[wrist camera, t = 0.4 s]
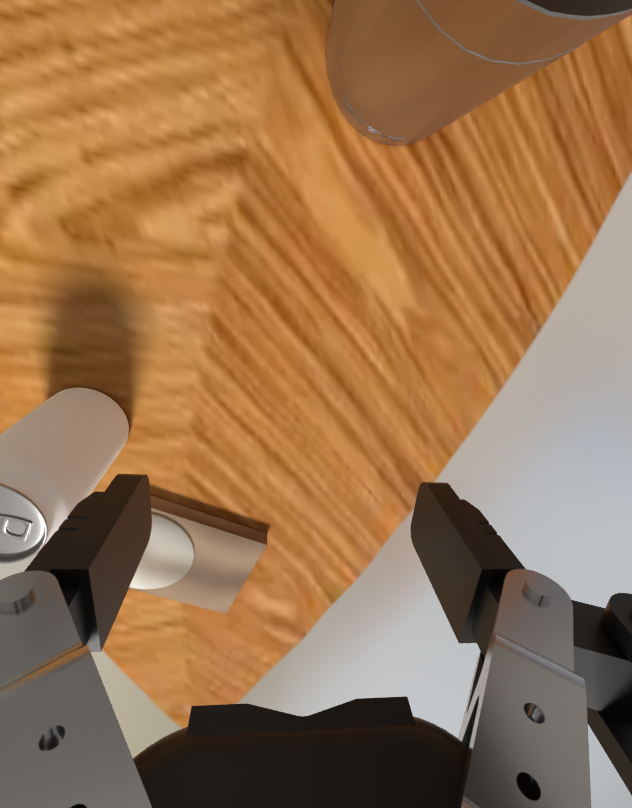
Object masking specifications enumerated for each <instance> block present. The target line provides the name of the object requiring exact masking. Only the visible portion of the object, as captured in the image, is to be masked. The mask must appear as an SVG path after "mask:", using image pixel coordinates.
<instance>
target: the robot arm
mask: <svg viewBox="0 0 632 808" xmlns="http://www.w3.org/2000/svg"><path fill="white" fill-rule="evenodd" d="M630 15H632V0H335V2H334V6H333V11H332V15H331V19H330V24H329V28H328V33H327V43H326V63H327V73H328V79H329V82H330V86H331V89H332V93H333V96H334V98H335V100H336V102H337V104H338V106H339V108H340V110H341V112H342V113H343V115H344V116H345V117H346V119H347V120H348V121H349V123H350V124H351V125H352V126H353V127H354V128H355V129H357V130H358V131H359V132H360V133H361V134H363V135H364V136H366V137H368V138H370V139H372V140H374V141H376V142H378V143H383V144H387V145H407V144H411V143H414V142H417V141H421V140H423V139H424V138H426V137H428V136H430V135H431V134H433V133H435V132H436V131H438V130H440V129H442V128H443V127H445V126H447V125H449V124H451V123H453V122H454V121H456V120H458V119H459V118H461V117H463V116H464V115H466V114H468V113H469V112H471V111H473V110H474V109H476V108H478V107H479V106H481V105H483V104H484V103H486V102H488V101H489V100H491V99H493V98H494V97H496V96H498V95H499V94H501V93H503V92H504V91H506V90H508V89H509V88H511V87H513V86H514V85H516V84H518V83H519V82H521V81H523V80H524V79H526V78H528V77H529V76H531V75H533V74H534V73H536V72H538V71H539V70H541V69H543V68H544V67H546V66H548V65H549V64H551V63H553V62H554V61H556V60H558V59H559V58H561V57H563V56H564V55H566V54H568V53H569V52H571V51H573V50H574V49H576V48H578V47H579V46H580V45H582V44H583V43H585V42H587V41H588V40H590V39H592V38H593V37H595V36H597V35H598V34H600V33H602V32H603V31H605V30H607V29H608V28H610V27H612V26H613V25H615V24H617V23H618V22H620V21H622V20H623V19H625V18H627V17H628V16H630ZM151 529H152V514H151V501H150V487H149V479H148V476H147V475H135V474H118V475H116V477H115V478H114V479H113V481H112V482H111V484H110V485H109V486H108V488H107V489H106V491H105V492H94V493H92V494H91V495H89V496H88V497H86V498H85V499H83V500H82V501H80V502H79V503H78V504H77V505H76V506H75V507H74V509H73V510H72V511H71V513H70V514H69V515H68V516H67V519H65V520H64V521H63V523H62V524H61V525H60V527H59V529H58V531H56V532H55V533H54V534H53V535H52V537H51V538H50V539H49V541H48V542H47V543H46V544H45V546H44V547H43V548H42V549H41V551H40V552H39V553H38V555H37V556H36V557H35V558H34V560H33V561H32V562H31V564H30V565H29V566H28V568H27V569H26V570H25V571H24V572H21V573H17V574H14V575H11V576H9V577H6V578H4V579H2V580H0V808H591V791H590V769H589V746H588V745H589V744H588V724H589V726H590V728H591V729H592V731H593V732H594V734H595V736H596V737H597V739H598V741H599V742H600V744H601V745H602V747H603V749H604V750H605V752H606V754H607V755H608V757H609V759H610V760H611V762H612V764H613V765H614V767H615V768H616V770H617V772H618V773H619V775H620V777H621V778H622V780H623V781H624V783H625V785H626V787H627V788H628V790H629V791H630V793H631V795H632V594H627V593H618V594H615V595H613V596H612V597H611V598H610V600H609V602H608V604H607V606H606V608H601V607H597V606H593V605H589V604H585V603H581V602H577V601H573V600H571V599H570V597H569V595H568V594H567V593H566V591H565V590H564V589H563V588H562V587H561V586H560V585H558V584H557V583H556V582H554V581H553V580H551V579H550V578H548V577H546V576H544V575H542V574H540V573H537V572H535V571H531V570H527V569H525V568H524V566H523V565H522V564H521V563H520V561H519V560H518V559H517V558H516V556H515V555H514V554H513V552H512V551H511V550H510V549H509V548H508V546H507V545H506V544H505V542H504V541H503V540H502V539H501V537H500V536H499V535H497V532H496V531H495V530H494V528H493V527H492V526H491V525H489V522H488V521H487V519H486V518H485V517H484V516H483V514H482V513H481V512H480V511H479V510H478V509H477V508H476V507H474V506H473V505H471V504H470V503H468V502H467V501H466V500H460V499H459V497H458V496H457V495H456V493H455V492H454V491H453V489H452V488H451V486H450V485H449V484H448V483H430V482H423V483H421V484H420V486H419V490H418V494H417V499H416V504H415V508H414V514H413V518H412V522H411V539H412V542H413V546H414V548H415V550H416V552H417V554H418V556H419V558H420V560H421V563H422V565H423V567H424V569H425V571H426V573H427V576H428V578H429V580H430V582H431V584H432V586H433V588H434V591H435V593H436V595H437V597H438V599H439V601H440V603H441V605H442V608H443V610H444V612H445V614H446V616H447V618H448V620H449V623H450V625H451V627H452V629H453V631H454V633H455V635H456V638H457V640H458V642H459V643H477V644H478V646H479V648H480V650H481V651H480V654H479V657H478V660H477V664H476V668H475V672H474V676H473V681H472V685H471V689H470V693H469V697H468V701H467V706H466V710H465V714H464V718H463V722H462V726H461V730H460V733H459V737H458V738H456V737H455V736H453V735H452V734H450V733H449V732H447V731H446V730H444V729H442V728H440V727H438V726H436V725H435V724H433V723H430V722H428V721H425V720H423V719H420V718H417V717H413V715H412V712H411V709H410V705H409V701H408V698H407V697H389V698H365V699H355V700H352V701H349V702H346V703H344V704H341V705H338V706H335V707H332V708H329V709H327V710H324V711H321V712H318V713H315V714H313V715H310V716H304V717H301V716H296V715H291V714H287V713H284V712H279V711H275V710H271V709H267V708H263V707H258V706H255V705H250V704H229V705H207V706H192V708H191V713H190V719H189V724H188V727H186V728H183V729H181V730H178V731H176V732H174V733H172V734H170V735H168V736H166V737H164V738H162V739H160V740H159V741H157V742H155V743H154V744H152V745H151V746H149V747H148V748H146V749H145V750H144V751H142V752H141V753H140V754H138V755H137V756H136V757H134V758H132V756H131V753H130V751H129V748H128V746H127V743H126V741H125V738H124V735H123V733H122V730H121V728H120V725H119V723H118V720H117V718H116V715H115V713H114V710H113V708H112V705H111V703H110V700H109V698H108V695H107V692H106V690H105V687H104V685H103V683H102V680H101V677H100V675H99V672H98V670H97V667H96V665H95V663H94V660H93V657H92V655H91V652H101V651H102V648H103V646H104V644H105V641H106V639H107V637H108V635H109V632H110V630H111V628H112V625H113V623H114V621H115V619H116V616H117V614H118V612H119V609H120V607H121V605H122V602H123V600H124V598H125V596H126V593H127V591H128V589H129V586H130V584H131V582H132V579H133V577H134V575H135V573H136V570H137V568H138V566H139V563H140V561H141V559H142V557H143V554H144V552H145V550H146V547H147V545H148V543H149V539H150V535H151Z"/></svg>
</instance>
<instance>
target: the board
mask: <svg viewBox="0 0 632 808" xmlns="http://www.w3.org/2000/svg"><path fill="white" fill-rule="evenodd" d="M150 501H151V514H152V529H151V535H150V539H149V543H148V545H147V547H146V550H145V552H144V554H143V557H142V559H141V561H140V563H139V566H138V568H137V570H136V573H135V575H134V577H133V579H132V582H131V584H130V586H129V588H130V589H134V590H138V591H141V592H145V593H149V594H153V595H156V596H160V597H164V598H168V599H172V600H175V601H179V602H183V603H187V604H191V605H194V606H198V607H202V608H206V609H210V610H213V611H217V612H221V613H225V614H226V613H227V611H228V610H229V608H230V606H231V605H232V603H233V601H234V599H235V598H236V596H237V594H238V593H239V591H240V589H241V588H242V586H243V584H244V583H245V581H246V579H247V578H248V576H249V574H250V572H251V571H252V569H253V567H254V566H255V564H256V562H257V561H258V559H259V557H260V556H261V554H262V552H263V550H264V549H265V547H266V545H267V533H264V532H261V531H258V530H255V529H252V528H249V527H246V526H243V525H240V524H237V523H234V522H231V521H228V520H225V519H222V518H219V517H216V516H213V515H209V514H206V513H203V512H200V511H197V510H194V509H191V508H188V507H185V506H182V505H179V504H176V503H173V502H170V501H167V500H164V499H161V498H158V497H155V496H152V495H150Z"/></svg>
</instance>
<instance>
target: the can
mask: <svg viewBox="0 0 632 808" xmlns="http://www.w3.org/2000/svg"><path fill="white" fill-rule="evenodd" d="M128 435H129V425H128V420H127V418H126V415H125V413H124V412H123V410H122V409H121V408H120V406H119V405H118V404H117V403H116V402H115V401H114V400H112V399H111V398H110V397H108V396H107V395H105V394H103V393H101V392H98V391H96V390H92V389H88V388H69V389H65V390H62V391H60V392H58V393H56V394H55V395H53V396H52V397H50V398H49V399H48V400H46V401H45V402H43V403H42V404H41V405H39V406H38V407H37V408H35V409H34V410H33V411H31V412H30V413H29V414H27V415H26V416H25V417H23V418H22V419H21V420H19V421H18V422H17V423H15V424H14V425H13V426H11V427H10V428H9V429H7V430H6V431H5V432H3V433H2V434H1V435H0V563H14V562H19V561H22V560H25V559H28V558H29V557H32V556H33V555H35V554H36V553H37V552H39V551H40V549H41V548H42V547H43V546H44V545H45V544H46V543H47V542H48V541H49V539H50V538H51V537H52V535H53V534H54V533H55V532H56V531H58V529H59V527H60V525H61V524H62V523H63V521H64V520H65V519H67V516H68V515H69V514H70V513H71V511H72V510H73V509H74V507H75V506H76V505H77V504H78V503H79V502H80V501H82V500H83V499H85V498H86V497H88V496H89V495H90V493H91V492H92V491H93V489H94V488H95V486H96V485H97V484H98V482H99V481H100V479H101V478H102V477H103V475H104V474H105V472H106V471H107V469H108V468H109V467H110V465H111V464H112V462H113V461H114V459H115V458H116V457H117V455H118V454H119V452H120V451H121V449H122V448H123V446H124V445H125V443H126V441H127V438H128Z"/></svg>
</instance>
